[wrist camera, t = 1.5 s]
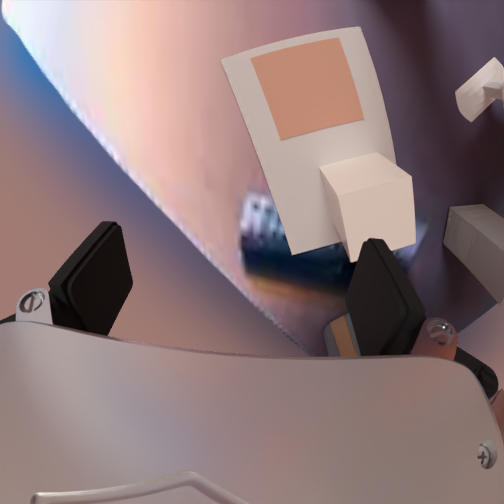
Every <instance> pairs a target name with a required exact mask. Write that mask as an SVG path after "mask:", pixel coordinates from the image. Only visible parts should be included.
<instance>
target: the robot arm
mask: <svg viewBox="0 0 504 504" xmlns="http://www.w3.org/2000/svg"><path fill="white" fill-rule="evenodd" d="M48 284H49V287H50V291H49V292H47V291H46V290H45V289H43V288H35V289H31V290H30V291H27V292H26V293H25V294H23V295H22V296H21V297H20V299H19V300H18V302H17V304H16V314H13V315H11V316H9V317H7V318H5V319H3V320H1V321H0V504H504V390H503V389H501V390H500V391H498V379H497V376H496V374H495V373H494V371H493V370H492V369H491V368H490V367H488V366H487V365H486V364H484V363H482V362H481V361H479V360H478V359H476V358H475V357H473V356H472V355H470V354H468V353H467V352H465V351H464V350H462V349H460V348H459V347H457V344H458V336H457V332H456V331H455V329H454V327H453V326H452V325H451V324H450V323H448V322H447V321H445V320H443V319H441V318H437V317H431V318H428V319H427V318H426V316H425V315H424V313H425V312H426V310H425V308H424V306H423V304H422V303H421V301H420V299H419V297H418V295H417V294H416V292H415V290H414V288H413V286H412V285H411V283H410V281H409V280H408V278H407V276H406V274H405V273H404V271H403V269H402V268H401V266H400V265H399V263H398V261H397V260H396V258H395V256H394V255H393V253H392V252H391V250H390V249H389V247H388V245H387V244H386V242H385V241H384V240H383V239H377V238H369V239H368V240H367V241H364V242H363V244H362V247H361V250H360V254H359V257H358V261H357V264H356V267H355V270H354V273H353V277H352V280H351V283H350V286H349V289H348V292H347V295H346V305H347V308H348V311H349V315H350V318H351V321H352V325H353V328H354V332H355V336H356V339H357V343H358V347H359V350H360V354H361V356H350V357H294V356H268V355H249V354H235V353H223V352H213V351H202V350H194V349H185V348H178V347H170V346H162V345H156V344H150V343H143V342H137V341H131V340H125V339H120V338H114V337H110V336H108V334H109V332H110V329H111V328H112V326H113V323H114V322H115V320H116V318H117V316H118V313H119V312H120V310H121V308H122V306H123V304H124V302H125V300H126V298H127V296H128V294H129V292H130V291H131V288H132V285H133V280H132V275H131V271H130V267H129V262H128V258H127V253H126V249H125V244H124V239H123V234H122V229H121V226H119V225H118V224H117V223H116V222H110V221H103V222H101V223H100V224H99V225H98V226H97V227H96V229H94V230H93V232H92V233H91V234H90V235H89V236H88V237H87V238H86V239H85V240H84V241H83V242H82V244H81V245H80V246H79V247H78V248H77V249H76V250H75V251H74V253H73V254H72V255H71V256H70V257H69V258H68V259H67V261H66V262H65V263H64V264H63V265H62V267H61V268H60V269H59V270H58V271H57V273H56V274H55V275H54V277H52V279H51V280H50V281H49V283H48Z"/></svg>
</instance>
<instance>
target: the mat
mask: <svg viewBox="0 0 504 504" xmlns="http://www.w3.org/2000/svg"><path fill="white" fill-rule="evenodd" d="M221 63H222V65H223V68H224V70H225V73H226V75H227V77H228V80H229V82H230V85H231V87H232V90H233V92H234V95H235V97H236V100H237V102H238V105H239V108H240V110H241V113H242V115H243V118H244V120H245V123H246V126H247V128H248V131H249V134H250V136H251V139H252V141H253V144H254V147H255V150H256V152H257V155H258V158H259V160H260V163H261V166H262V169H263V171H264V174H265V177H266V180H267V183H268V185H269V188H270V191H271V194H272V197H273V200H274V202H275V205H276V208H277V211H278V214H279V217H280V220H281V223H282V226H283V229H284V232H285V235H286V238H287V241H288V244H289V247H290V250H291V253H292V255H294V254H298V253H302V252H306V251H309V250H313V249H316V248H320V247H324V246H327V245H331V244H335V243H338V242H342V241H341V238H340V236H339V234H338V232H337V229H336V227H335V225H334V223H333V220H332V215H331V211H330V207H329V203H328V199H327V195H326V191H325V187H324V183H323V179H322V176H321V172H320V168H319V167H321V166H325V165H328V164H332V163H336V162H340V161H344V160H348V159H352V158H356V157H360V156H364V155H368V154H372V153H379V154H380V155H382V156H383V157H385V158H386V159H388V160H389V161H391V162H392V163H393V164H395V165H396V160H395V154H394V148H393V142H392V137H391V132H390V127H389V122H388V118H387V113H386V109H385V105H384V101H383V97H382V93H381V89H380V86H379V82H378V79H377V75H376V72H375V68H374V65H373V62H372V59H371V56H370V53H369V50H368V47H367V44H366V41H365V39H364V36H363V33H362V31H361V28H360V27H351V28H344V29H337V30H330V31H324V32H319V33H313V34H308V35H304V36H299V37H295V38H290V39H286V40H282V41H278V42H274V43H271V44H267V45H264V46H260V47H257V48H254V49H250V50H247V51H244V52H241V53H238V54H235V55H232V56H230V57H227V58H224V59H221Z"/></svg>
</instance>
